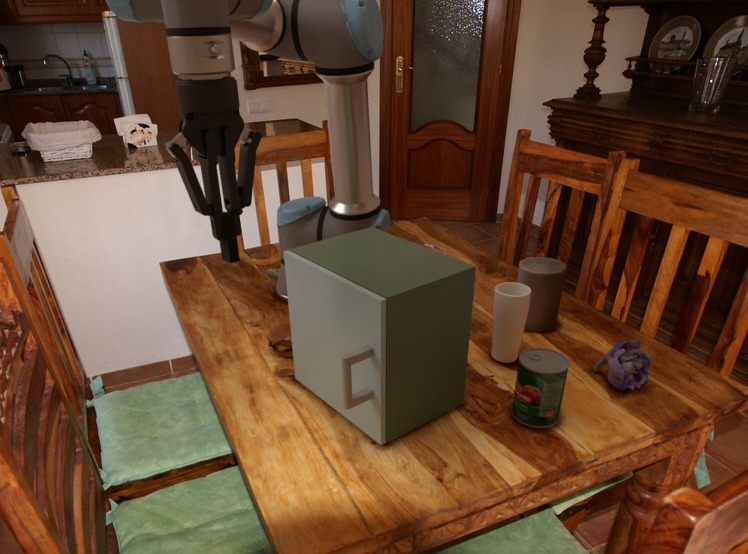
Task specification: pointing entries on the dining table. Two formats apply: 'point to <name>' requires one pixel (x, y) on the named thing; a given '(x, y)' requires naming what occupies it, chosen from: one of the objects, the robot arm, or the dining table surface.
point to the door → (339, 342)
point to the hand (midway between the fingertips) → (230, 259)
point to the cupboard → (410, 318)
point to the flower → (626, 365)
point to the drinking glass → (509, 320)
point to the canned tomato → (539, 387)
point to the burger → (281, 339)
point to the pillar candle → (542, 291)
